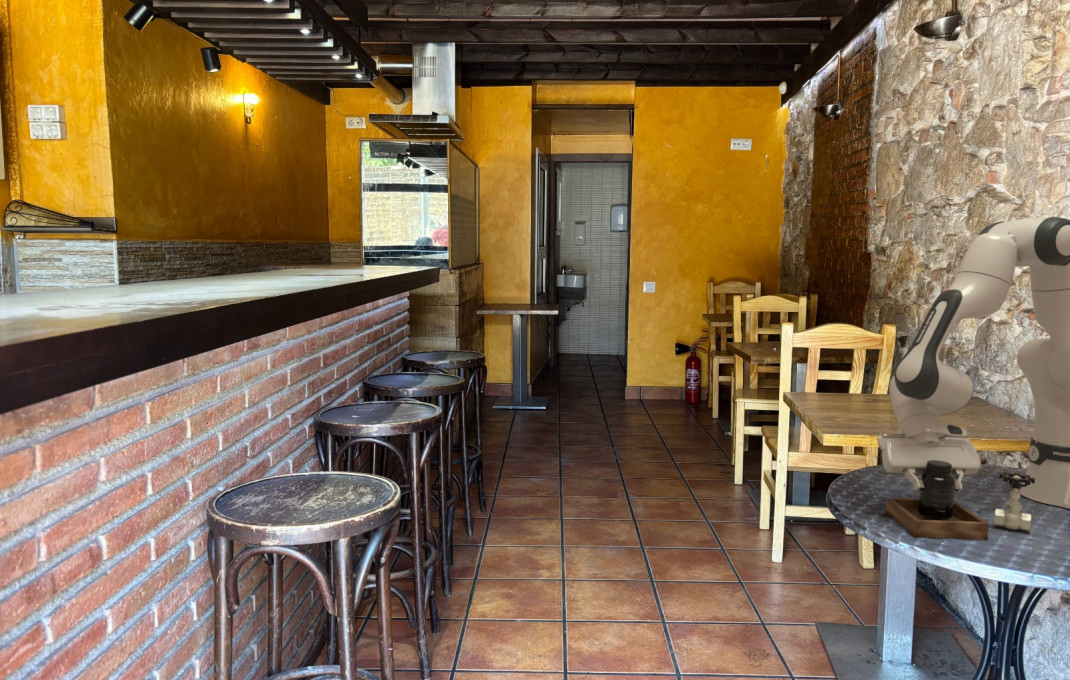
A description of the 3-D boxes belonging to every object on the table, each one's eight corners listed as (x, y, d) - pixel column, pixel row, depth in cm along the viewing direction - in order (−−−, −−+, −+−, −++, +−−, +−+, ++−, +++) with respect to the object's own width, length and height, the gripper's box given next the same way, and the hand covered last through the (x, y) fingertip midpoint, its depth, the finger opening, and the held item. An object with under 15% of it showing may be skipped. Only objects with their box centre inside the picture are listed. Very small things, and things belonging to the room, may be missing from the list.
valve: (1029, 537, 162) (1035, 482, 161) (993, 530, 166) (998, 477, 164) (1029, 527, 168) (1034, 474, 166) (994, 521, 171) (999, 469, 170)
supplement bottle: (912, 509, 172) (917, 457, 170) (945, 511, 171) (950, 459, 169) (923, 520, 165) (928, 466, 163) (957, 522, 164) (962, 468, 162)
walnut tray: (952, 514, 175) (953, 499, 174) (987, 539, 160) (989, 523, 160) (885, 512, 176) (886, 497, 175) (914, 537, 161) (916, 521, 160)
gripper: (880, 426, 172) (895, 481, 164) (973, 428, 172) (993, 484, 163) (871, 440, 177) (885, 495, 169) (961, 443, 177) (980, 497, 168)
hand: (939, 490), depth 166 cm, fingers closed on supplement bottle, 7 cm apart
